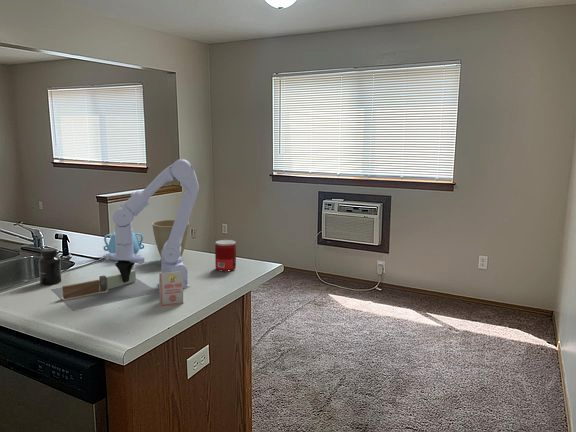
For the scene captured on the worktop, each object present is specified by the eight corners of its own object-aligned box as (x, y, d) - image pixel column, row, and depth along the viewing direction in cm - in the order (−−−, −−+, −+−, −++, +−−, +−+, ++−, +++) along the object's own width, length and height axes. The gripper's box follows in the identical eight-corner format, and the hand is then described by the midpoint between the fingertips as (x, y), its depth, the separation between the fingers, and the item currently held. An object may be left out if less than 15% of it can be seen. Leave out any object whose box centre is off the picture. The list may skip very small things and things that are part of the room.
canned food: (238, 270, 180) (238, 243, 178) (217, 272, 177) (217, 244, 175) (233, 265, 187) (233, 239, 185) (213, 267, 184) (213, 240, 182)
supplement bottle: (37, 286, 157) (35, 252, 155) (42, 280, 163) (40, 247, 161) (59, 285, 159) (57, 251, 157) (63, 279, 165) (61, 247, 163)
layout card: (158, 292, 154) (158, 291, 153) (73, 311, 136) (73, 310, 136) (129, 275, 172) (129, 274, 172) (50, 289, 154) (50, 288, 154)
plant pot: (161, 267, 183) (160, 227, 180) (148, 258, 195) (146, 221, 192) (195, 261, 191) (195, 224, 189) (181, 254, 203) (180, 218, 201)
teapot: (105, 251, 205) (104, 225, 203) (144, 249, 210) (143, 224, 208) (102, 263, 186) (100, 235, 184) (145, 261, 191) (144, 233, 189)
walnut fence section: (107, 291, 153) (106, 276, 152) (64, 299, 145) (63, 284, 144) (105, 289, 155) (104, 275, 154) (62, 298, 146) (61, 282, 145)
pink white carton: (159, 302, 145) (158, 271, 143) (181, 299, 148) (180, 269, 146) (161, 306, 142) (160, 275, 140) (183, 303, 144) (182, 272, 143)
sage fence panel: (135, 281, 163) (135, 270, 162) (107, 289, 154) (107, 277, 153) (133, 280, 164) (133, 269, 163) (105, 288, 155) (105, 277, 154)
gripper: (149, 242, 157) (150, 281, 159) (115, 238, 162) (116, 275, 164) (136, 247, 150) (137, 287, 153) (100, 242, 155) (102, 281, 158)
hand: (125, 281), depth 158 cm, fingers closed
